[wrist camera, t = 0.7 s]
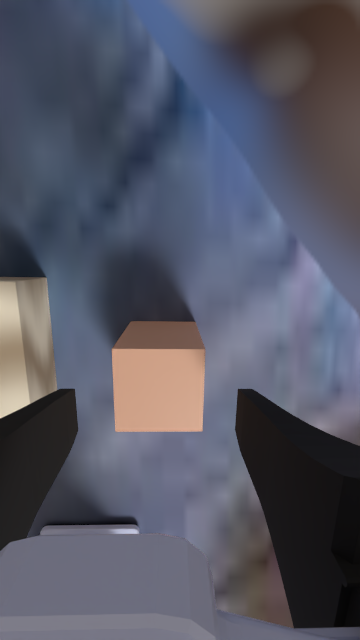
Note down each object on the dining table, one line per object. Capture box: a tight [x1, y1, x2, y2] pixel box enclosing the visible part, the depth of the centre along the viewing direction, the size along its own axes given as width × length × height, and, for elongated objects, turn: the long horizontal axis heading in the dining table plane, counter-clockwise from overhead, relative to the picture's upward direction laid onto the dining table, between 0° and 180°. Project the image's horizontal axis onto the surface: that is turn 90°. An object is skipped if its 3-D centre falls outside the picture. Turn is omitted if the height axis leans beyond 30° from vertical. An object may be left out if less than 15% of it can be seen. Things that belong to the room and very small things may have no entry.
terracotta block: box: [112, 321, 205, 432], centre depth 16 cm, size 4×4×6 cm
